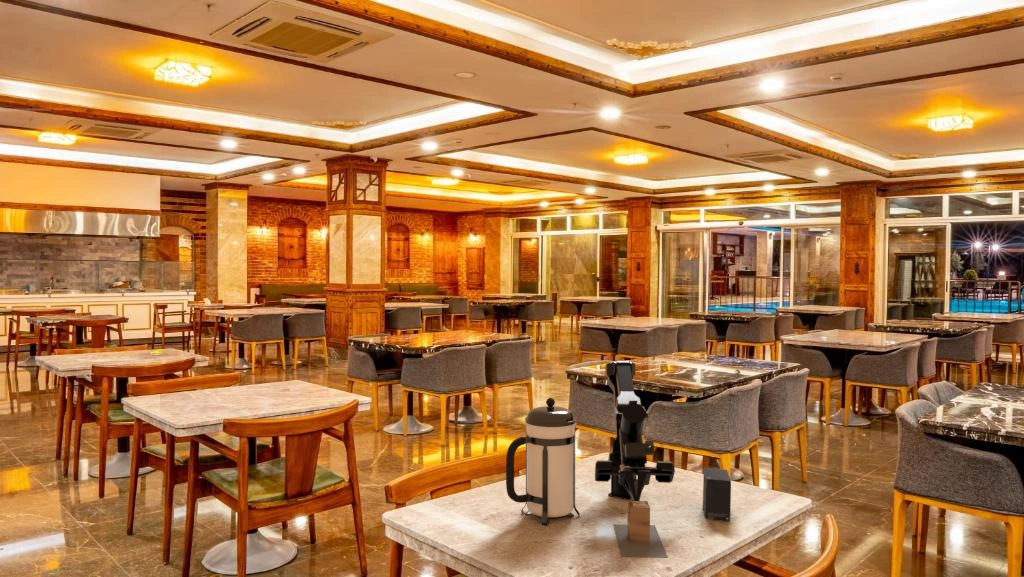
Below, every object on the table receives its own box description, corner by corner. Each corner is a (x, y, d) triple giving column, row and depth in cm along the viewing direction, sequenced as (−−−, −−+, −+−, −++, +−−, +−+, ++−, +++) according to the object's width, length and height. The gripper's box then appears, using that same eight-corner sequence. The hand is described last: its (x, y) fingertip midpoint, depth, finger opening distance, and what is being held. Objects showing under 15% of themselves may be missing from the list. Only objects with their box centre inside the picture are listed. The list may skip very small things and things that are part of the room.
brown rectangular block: (626, 534, 165) (626, 499, 165) (647, 534, 165) (647, 500, 165) (628, 542, 161) (629, 506, 160) (649, 542, 160) (650, 506, 160)
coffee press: (527, 503, 189) (527, 391, 188) (586, 510, 184) (586, 394, 183) (505, 525, 173) (505, 402, 172) (568, 533, 167) (569, 406, 167)
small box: (731, 522, 175) (732, 480, 175) (704, 520, 176) (704, 478, 176) (727, 508, 185) (728, 468, 185) (701, 506, 187) (702, 467, 186)
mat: (613, 526, 172) (613, 524, 172) (654, 527, 171) (654, 525, 171) (621, 558, 152) (621, 556, 152) (668, 560, 152) (668, 557, 152)
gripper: (595, 427, 171) (598, 486, 161) (673, 428, 170) (682, 487, 160) (593, 451, 179) (596, 509, 169) (668, 452, 178) (675, 511, 168)
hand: (636, 504), depth 166 cm, fingers closed
